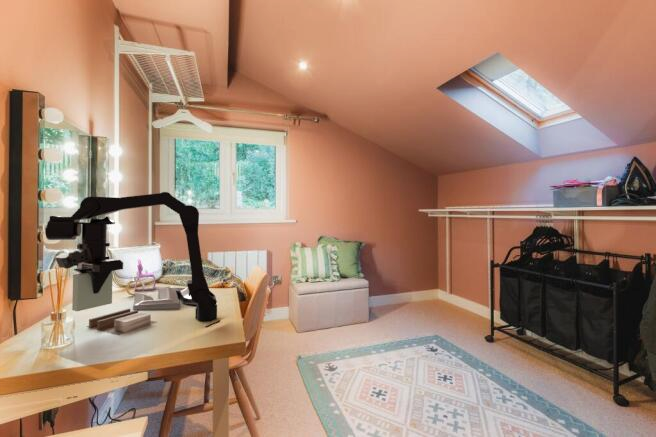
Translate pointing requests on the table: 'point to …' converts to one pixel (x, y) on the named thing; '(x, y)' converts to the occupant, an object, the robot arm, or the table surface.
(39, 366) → the table surface
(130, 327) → the offcut lower
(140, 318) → the offcut upper
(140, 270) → the toy chair
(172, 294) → the emblem
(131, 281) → the bracelet
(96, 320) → the rack
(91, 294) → the green panel
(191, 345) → the table surface
